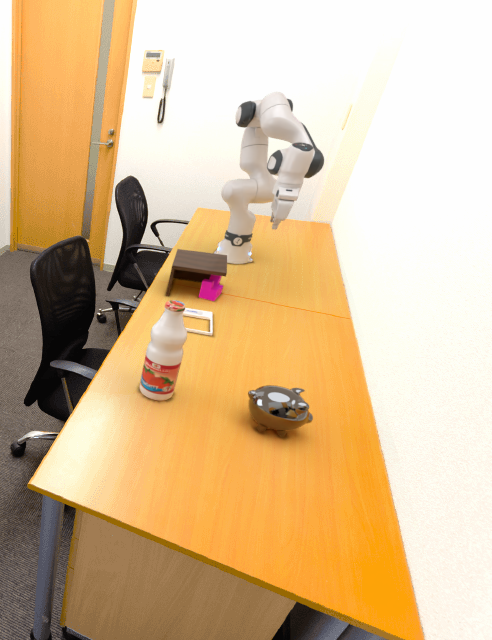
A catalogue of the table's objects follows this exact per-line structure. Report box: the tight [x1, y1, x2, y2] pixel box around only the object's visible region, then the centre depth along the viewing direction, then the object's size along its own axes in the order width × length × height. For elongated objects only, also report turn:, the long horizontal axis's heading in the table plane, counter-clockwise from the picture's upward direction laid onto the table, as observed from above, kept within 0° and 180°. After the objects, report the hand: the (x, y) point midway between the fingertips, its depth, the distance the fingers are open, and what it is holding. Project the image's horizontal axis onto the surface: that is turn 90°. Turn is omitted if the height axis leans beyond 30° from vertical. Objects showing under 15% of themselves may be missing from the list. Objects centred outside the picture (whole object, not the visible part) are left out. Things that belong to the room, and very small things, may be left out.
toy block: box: [198, 275, 224, 302], centre depth 179 cm, size 15×6×8 cm, turn 141°
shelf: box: [165, 248, 228, 297], centre depth 181 cm, size 23×20×14 cm
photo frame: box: [183, 307, 214, 336], centre depth 159 cm, size 15×1×18 cm
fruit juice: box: [139, 299, 188, 401], centre depth 116 cm, size 9×9×28 cm
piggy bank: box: [247, 384, 314, 437], centre depth 107 cm, size 11×15×12 cm
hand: (273, 225), depth 170 cm, fingers open, 8 cm apart
